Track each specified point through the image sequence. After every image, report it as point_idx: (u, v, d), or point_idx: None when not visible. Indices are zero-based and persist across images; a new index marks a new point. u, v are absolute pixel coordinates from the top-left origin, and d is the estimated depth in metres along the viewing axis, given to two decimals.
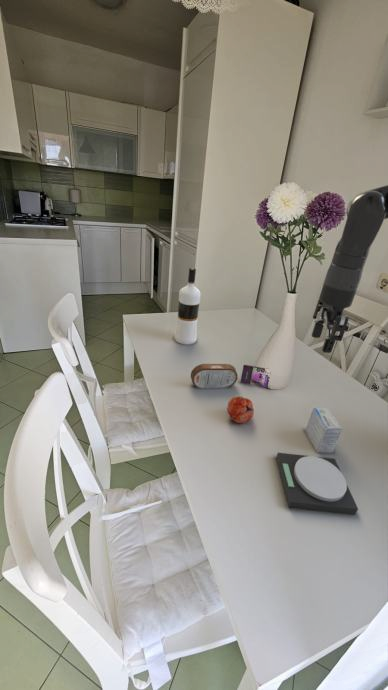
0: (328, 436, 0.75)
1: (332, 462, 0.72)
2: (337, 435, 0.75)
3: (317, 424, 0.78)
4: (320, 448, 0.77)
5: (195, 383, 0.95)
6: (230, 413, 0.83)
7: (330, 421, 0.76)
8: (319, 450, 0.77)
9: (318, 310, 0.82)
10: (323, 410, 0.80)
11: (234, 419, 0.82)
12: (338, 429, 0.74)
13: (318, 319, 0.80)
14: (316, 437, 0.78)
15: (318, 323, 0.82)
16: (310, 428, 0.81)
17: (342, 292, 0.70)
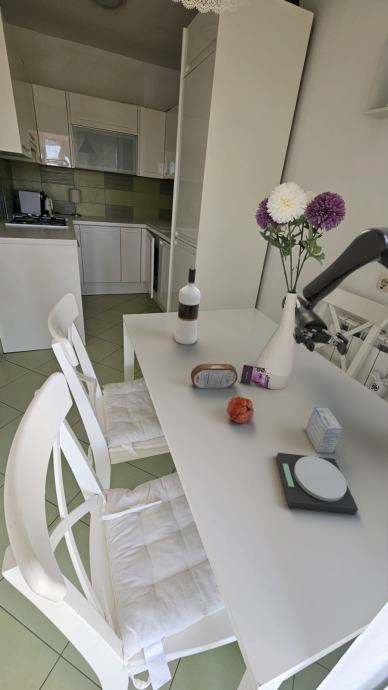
0: (328, 436, 0.75)
1: (332, 462, 0.72)
2: (337, 435, 0.75)
3: (317, 424, 0.78)
4: (320, 448, 0.77)
5: (195, 383, 0.95)
6: (230, 413, 0.83)
7: (330, 421, 0.76)
8: (319, 450, 0.77)
9: None
10: (323, 410, 0.80)
11: (234, 419, 0.82)
12: (338, 429, 0.74)
13: (330, 345, 0.86)
14: (316, 437, 0.78)
15: (337, 346, 0.85)
16: (310, 428, 0.81)
17: (298, 327, 0.94)
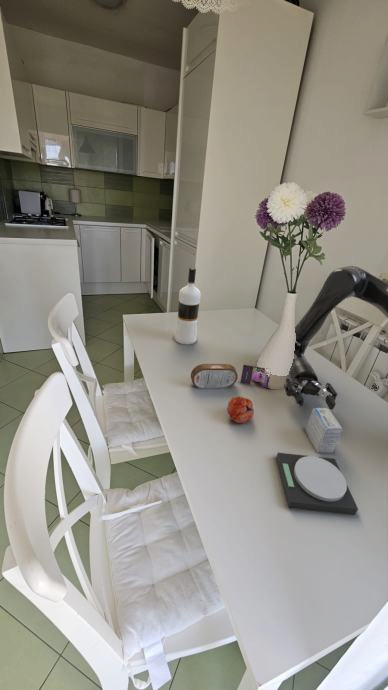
0: (328, 436, 0.75)
1: (332, 462, 0.72)
2: (337, 435, 0.75)
3: (317, 424, 0.78)
4: (320, 448, 0.77)
5: (195, 383, 0.95)
6: (230, 413, 0.83)
7: (330, 421, 0.76)
8: (319, 450, 0.77)
9: None
10: (323, 410, 0.80)
11: (234, 419, 0.82)
12: (338, 429, 0.74)
13: (320, 397, 0.90)
14: (316, 437, 0.78)
15: (326, 399, 0.88)
16: (310, 428, 0.81)
17: (290, 375, 0.98)
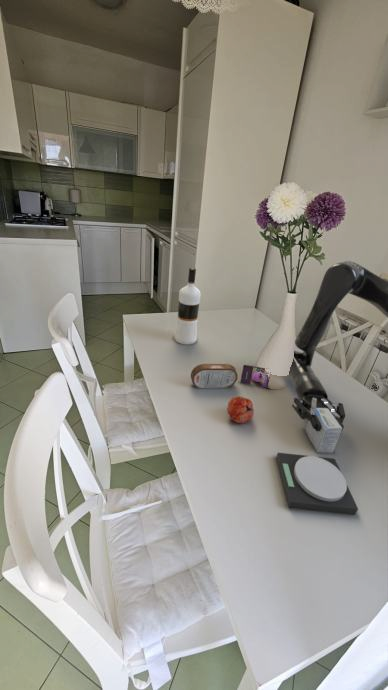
0: (328, 436, 0.75)
1: (332, 462, 0.72)
2: (337, 435, 0.75)
3: None
4: (320, 448, 0.77)
5: (195, 383, 0.95)
6: (230, 413, 0.83)
7: (329, 421, 0.76)
8: (319, 450, 0.77)
9: None
10: (322, 410, 0.80)
11: (234, 419, 0.82)
12: (338, 429, 0.74)
13: None
14: (316, 437, 0.78)
15: None
16: (309, 428, 0.81)
17: (297, 391, 0.90)
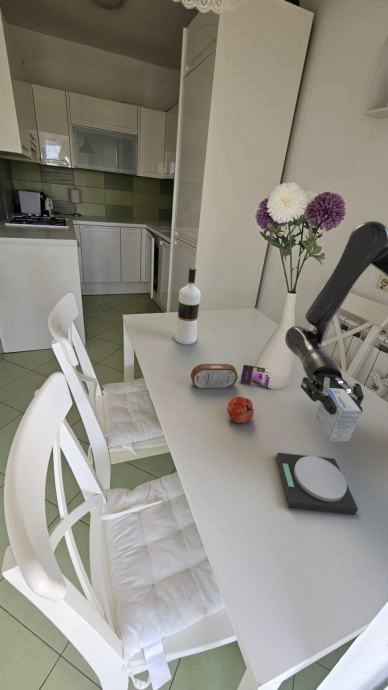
0: (344, 420, 0.63)
1: (332, 462, 0.72)
2: (355, 419, 0.63)
3: None
4: (333, 435, 0.65)
5: (195, 383, 0.95)
6: (230, 413, 0.83)
7: (346, 402, 0.64)
8: (332, 437, 0.65)
9: None
10: (338, 391, 0.67)
11: (234, 419, 0.82)
12: (356, 412, 0.62)
13: None
14: (329, 422, 0.66)
15: None
16: (321, 412, 0.69)
17: (306, 371, 0.78)
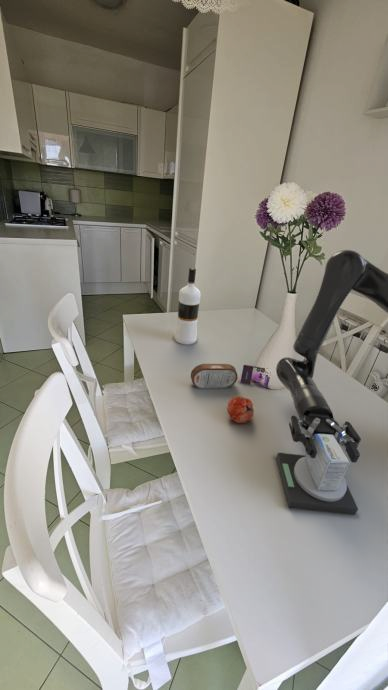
0: (332, 471, 0.61)
1: None
2: (343, 470, 0.61)
3: (318, 455, 0.64)
4: (321, 485, 0.63)
5: (195, 383, 0.95)
6: (230, 413, 0.83)
7: (334, 451, 0.62)
8: (320, 487, 0.63)
9: None
10: (326, 437, 0.66)
11: (234, 419, 0.82)
12: (344, 463, 0.60)
13: None
14: (317, 471, 0.64)
15: (346, 445, 0.66)
16: (310, 458, 0.68)
17: (296, 409, 0.76)
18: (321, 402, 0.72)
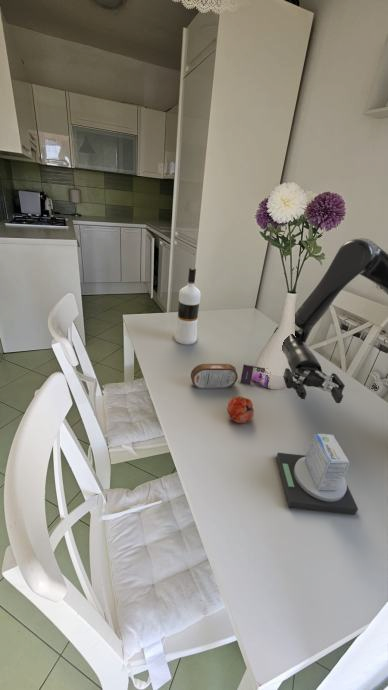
0: (332, 471, 0.61)
1: None
2: (343, 470, 0.61)
3: (318, 455, 0.64)
4: (321, 485, 0.63)
5: (195, 383, 0.95)
6: (230, 413, 0.83)
7: (334, 451, 0.62)
8: (320, 487, 0.63)
9: None
10: (326, 437, 0.66)
11: (234, 419, 0.82)
12: (344, 463, 0.60)
13: (325, 389, 0.78)
14: (317, 471, 0.64)
15: (331, 391, 0.76)
16: (310, 458, 0.68)
17: (290, 365, 0.86)
18: (311, 357, 0.82)
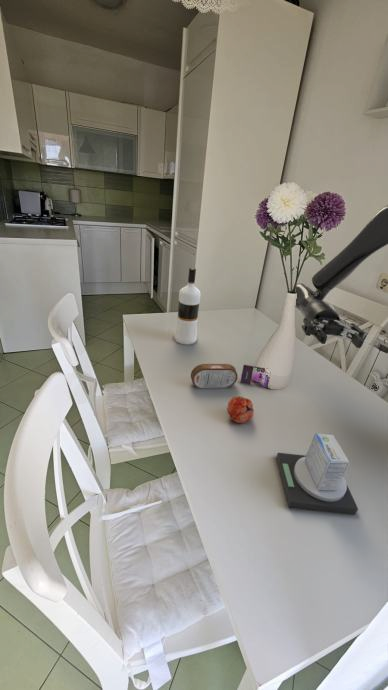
0: (332, 471, 0.61)
1: None
2: (343, 470, 0.61)
3: (318, 455, 0.64)
4: (321, 485, 0.63)
5: (195, 383, 0.95)
6: (230, 413, 0.83)
7: (334, 451, 0.62)
8: (320, 487, 0.63)
9: None
10: (326, 437, 0.66)
11: (234, 419, 0.82)
12: (344, 463, 0.60)
13: (344, 338, 0.77)
14: (317, 471, 0.64)
15: (351, 338, 0.76)
16: (310, 458, 0.68)
17: (307, 318, 0.86)
18: (329, 308, 0.82)
